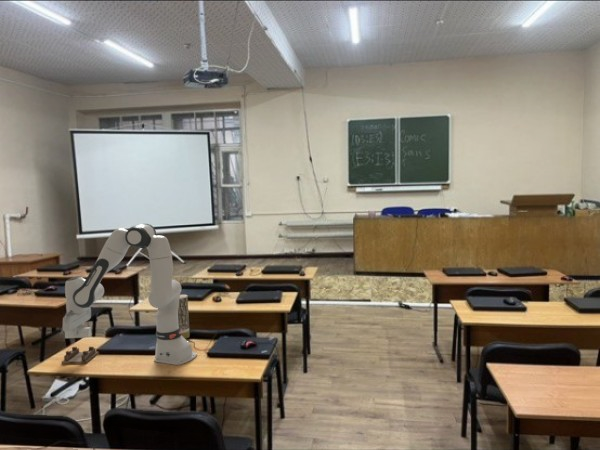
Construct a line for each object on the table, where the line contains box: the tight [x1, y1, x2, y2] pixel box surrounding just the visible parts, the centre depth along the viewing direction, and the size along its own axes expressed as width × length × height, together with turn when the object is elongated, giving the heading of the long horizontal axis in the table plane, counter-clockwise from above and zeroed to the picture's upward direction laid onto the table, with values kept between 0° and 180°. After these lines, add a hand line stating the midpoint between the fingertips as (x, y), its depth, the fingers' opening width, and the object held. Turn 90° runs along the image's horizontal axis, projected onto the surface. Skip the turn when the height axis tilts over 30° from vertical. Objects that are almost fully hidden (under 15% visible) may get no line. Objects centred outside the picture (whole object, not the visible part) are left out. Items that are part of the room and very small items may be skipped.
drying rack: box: [61, 346, 100, 365], centre depth 213 cm, size 13×12×5 cm
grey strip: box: [63, 326, 92, 339], centre depth 212 cm, size 12×3×4 cm, turn 95°
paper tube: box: [178, 294, 191, 340], centre depth 238 cm, size 7×7×25 cm
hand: (78, 333), depth 212 cm, fingers closed on grey strip, 3 cm apart
